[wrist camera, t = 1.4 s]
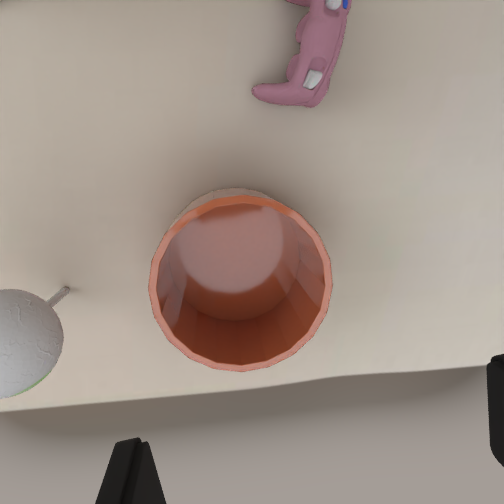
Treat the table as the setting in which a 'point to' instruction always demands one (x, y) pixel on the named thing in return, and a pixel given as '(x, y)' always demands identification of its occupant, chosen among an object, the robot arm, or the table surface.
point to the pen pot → (239, 281)
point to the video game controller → (310, 55)
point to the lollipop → (27, 339)
